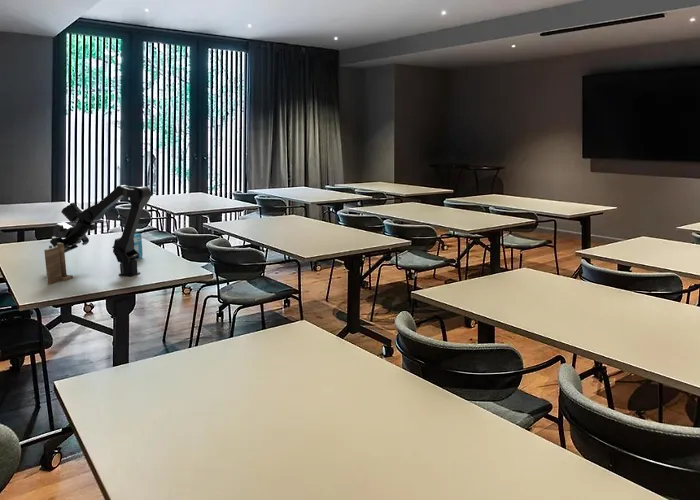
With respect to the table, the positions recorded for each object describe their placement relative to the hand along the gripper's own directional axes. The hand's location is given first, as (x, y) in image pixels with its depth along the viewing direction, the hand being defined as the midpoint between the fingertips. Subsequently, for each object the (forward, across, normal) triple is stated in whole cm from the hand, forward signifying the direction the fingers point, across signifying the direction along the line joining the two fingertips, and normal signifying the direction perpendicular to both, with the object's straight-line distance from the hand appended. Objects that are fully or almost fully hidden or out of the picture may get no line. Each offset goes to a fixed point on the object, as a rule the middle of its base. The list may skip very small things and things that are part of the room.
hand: (59, 254), depth 251 cm
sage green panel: (+3, +5, +6) cm, 8 cm away
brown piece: (-2, +16, +13) cm, 21 cm away
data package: (-7, -28, +18) cm, 34 cm away
